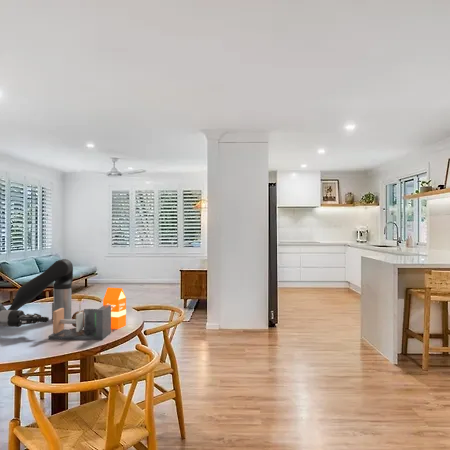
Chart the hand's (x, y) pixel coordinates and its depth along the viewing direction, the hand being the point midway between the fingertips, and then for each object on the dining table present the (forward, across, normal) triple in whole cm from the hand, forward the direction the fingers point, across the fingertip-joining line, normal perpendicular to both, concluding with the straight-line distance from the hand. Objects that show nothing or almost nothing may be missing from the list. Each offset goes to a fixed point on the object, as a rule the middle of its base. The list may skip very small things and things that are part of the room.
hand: (47, 319), depth 184 cm
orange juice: (+26, -18, -7) cm, 33 cm away
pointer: (+15, 0, -4) cm, 16 cm away
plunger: (+9, 0, -5) cm, 11 cm away
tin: (+10, -20, -8) cm, 24 cm away
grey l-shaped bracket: (+15, -1, -7) cm, 17 cm away
